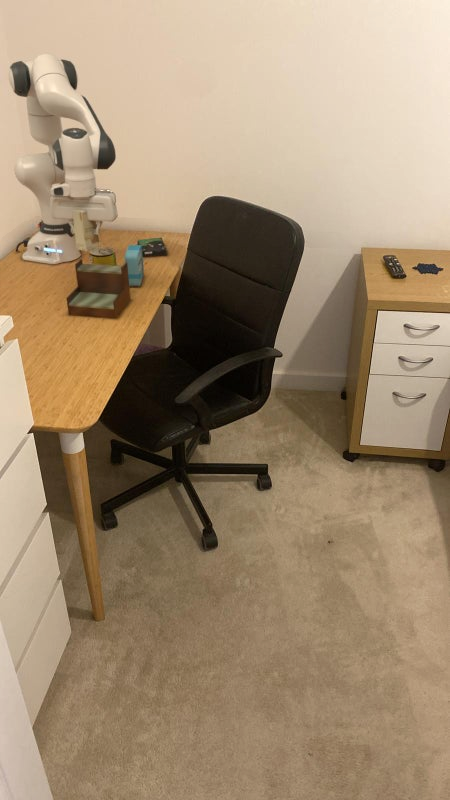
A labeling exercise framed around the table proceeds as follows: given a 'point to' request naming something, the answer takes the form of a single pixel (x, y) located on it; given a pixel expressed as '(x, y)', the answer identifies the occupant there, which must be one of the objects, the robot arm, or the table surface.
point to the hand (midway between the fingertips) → (86, 233)
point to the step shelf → (99, 291)
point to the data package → (134, 264)
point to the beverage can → (103, 256)
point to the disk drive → (152, 247)
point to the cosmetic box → (84, 231)
